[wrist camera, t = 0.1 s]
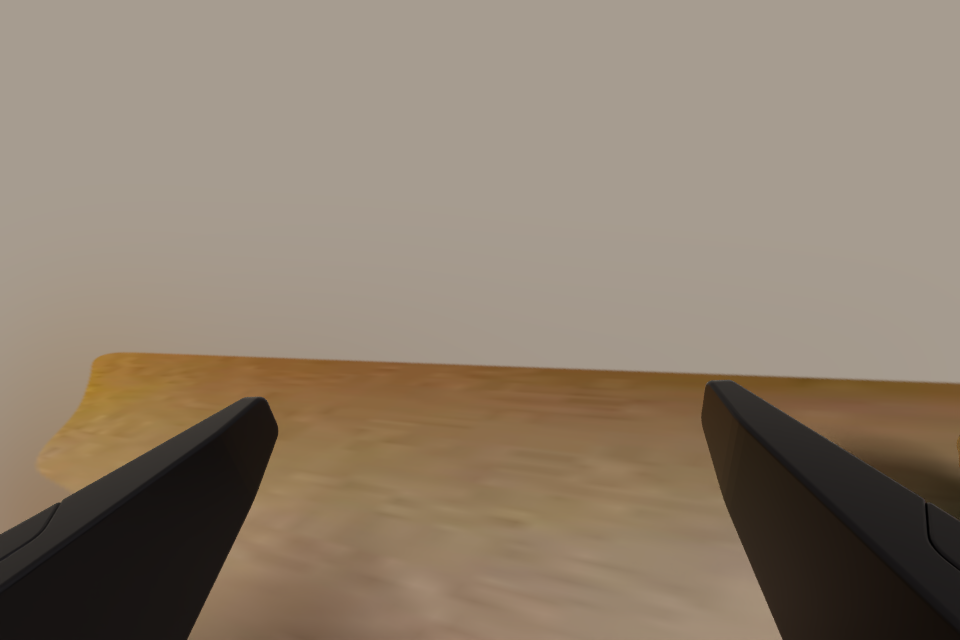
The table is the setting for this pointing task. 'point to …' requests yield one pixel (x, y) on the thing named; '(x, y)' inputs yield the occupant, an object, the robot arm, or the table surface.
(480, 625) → the table surface
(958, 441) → the cupcake
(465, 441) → the table surface
